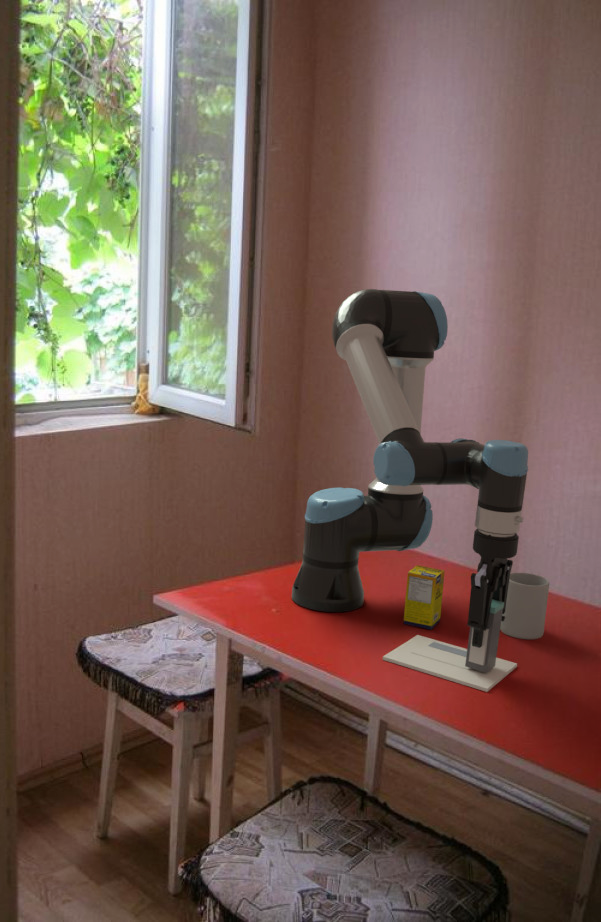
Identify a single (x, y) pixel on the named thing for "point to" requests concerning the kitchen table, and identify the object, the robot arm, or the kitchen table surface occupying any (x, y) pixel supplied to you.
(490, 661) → the grey teal-topped block
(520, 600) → the mug
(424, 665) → the paper pad
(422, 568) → the supplement box
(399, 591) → the kitchen table surface
